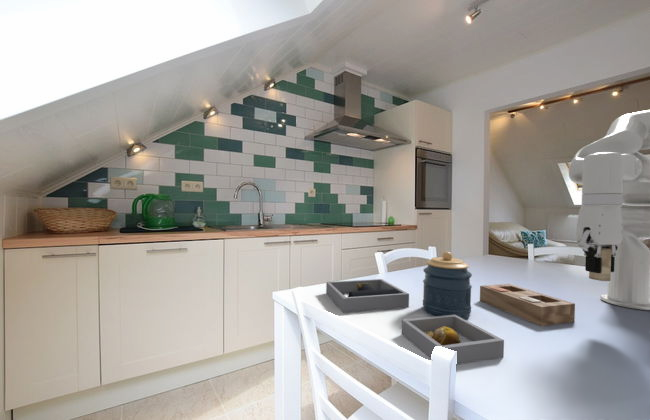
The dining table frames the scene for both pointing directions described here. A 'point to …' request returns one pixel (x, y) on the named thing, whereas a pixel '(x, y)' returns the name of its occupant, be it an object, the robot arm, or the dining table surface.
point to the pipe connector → (370, 291)
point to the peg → (603, 266)
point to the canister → (447, 287)
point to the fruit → (444, 336)
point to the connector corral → (365, 302)
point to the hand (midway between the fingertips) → (599, 270)
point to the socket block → (528, 304)
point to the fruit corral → (477, 350)
